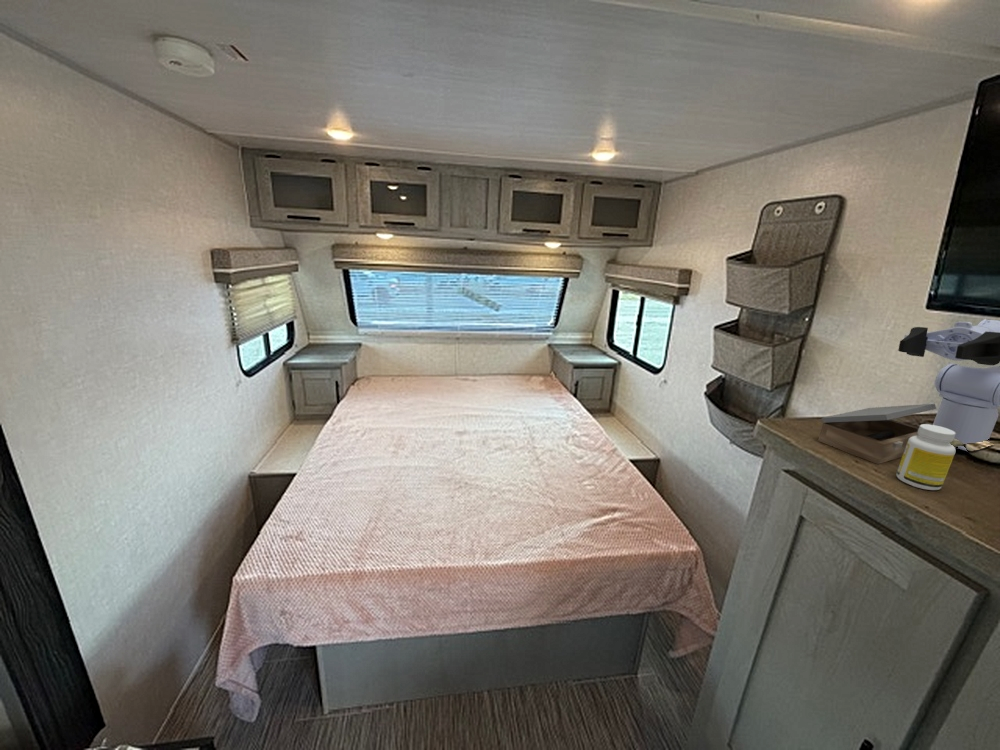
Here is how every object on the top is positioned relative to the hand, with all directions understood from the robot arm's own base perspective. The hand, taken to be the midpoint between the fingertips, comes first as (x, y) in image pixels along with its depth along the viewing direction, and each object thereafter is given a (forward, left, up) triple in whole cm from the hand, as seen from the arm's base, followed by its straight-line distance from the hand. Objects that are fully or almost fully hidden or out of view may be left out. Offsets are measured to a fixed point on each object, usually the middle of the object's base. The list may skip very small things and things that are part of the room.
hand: (928, 349), depth 70 cm
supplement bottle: (+8, +7, -21) cm, 24 cm away
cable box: (-1, -4, -21) cm, 21 cm away
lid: (-1, -4, -15) cm, 15 cm away
